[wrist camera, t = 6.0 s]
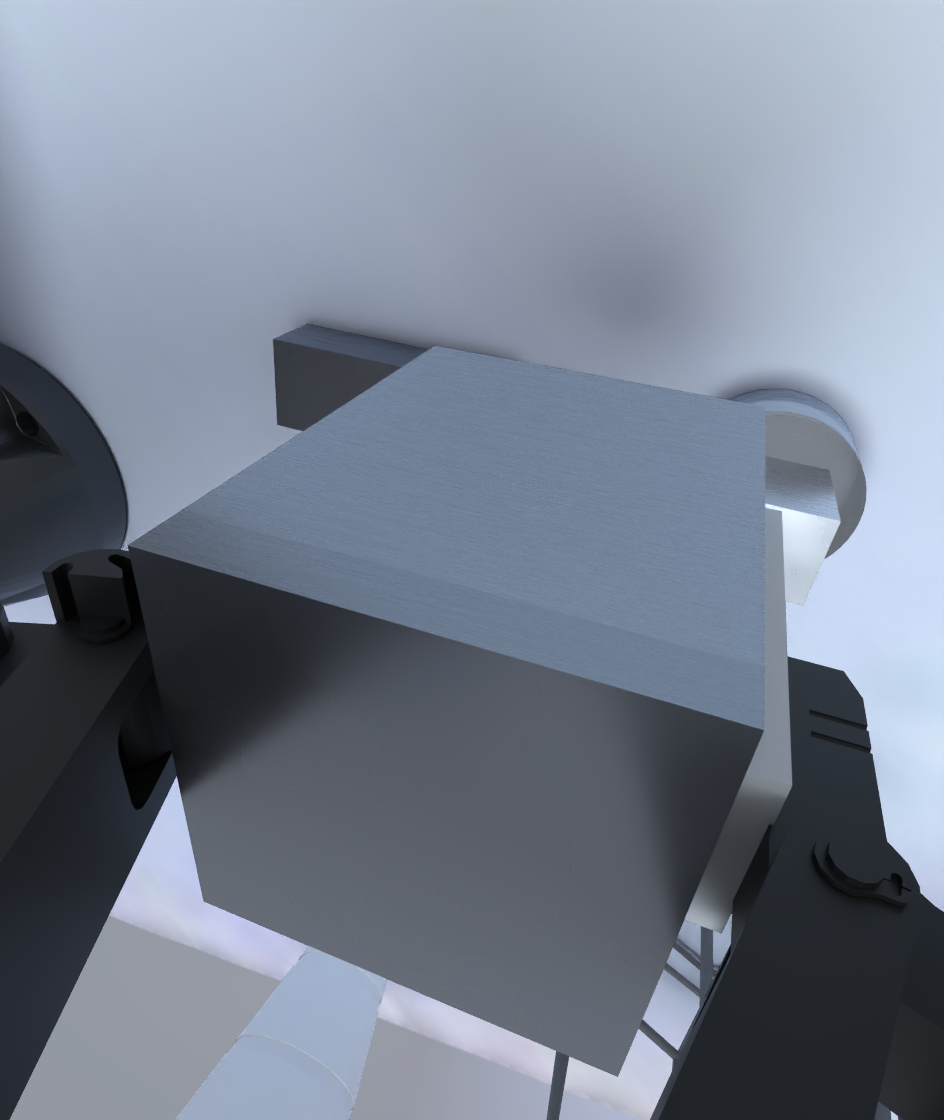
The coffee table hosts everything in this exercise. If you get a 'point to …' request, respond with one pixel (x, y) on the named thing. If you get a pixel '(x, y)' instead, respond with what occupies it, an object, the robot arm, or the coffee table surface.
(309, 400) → the ratchet
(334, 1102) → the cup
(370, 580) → the grey rectangular block
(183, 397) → the coffee table surface
